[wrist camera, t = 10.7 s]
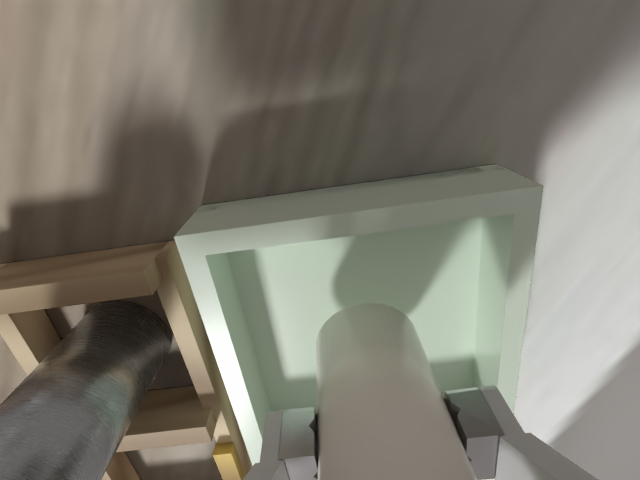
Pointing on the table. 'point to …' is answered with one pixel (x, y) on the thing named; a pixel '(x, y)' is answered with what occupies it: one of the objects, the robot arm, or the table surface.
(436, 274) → the tray
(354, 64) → the table surface
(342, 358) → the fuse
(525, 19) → the table surface
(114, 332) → the canister
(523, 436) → the robot arm
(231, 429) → the rack
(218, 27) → the table surface
